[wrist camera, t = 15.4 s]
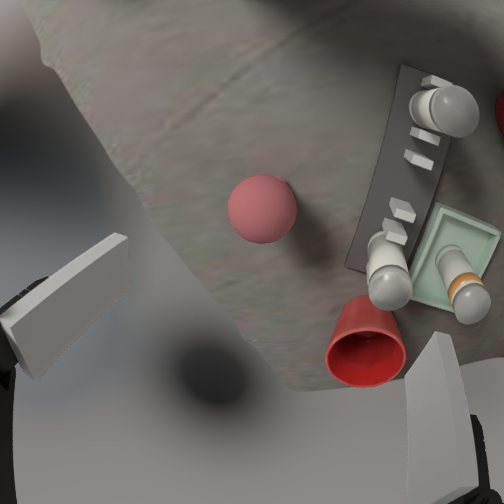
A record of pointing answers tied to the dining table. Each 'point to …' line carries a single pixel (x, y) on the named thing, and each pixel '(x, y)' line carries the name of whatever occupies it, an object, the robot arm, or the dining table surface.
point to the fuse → (387, 273)
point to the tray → (445, 233)
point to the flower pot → (365, 345)
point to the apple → (500, 111)
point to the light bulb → (262, 208)
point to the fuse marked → (462, 285)
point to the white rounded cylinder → (445, 110)
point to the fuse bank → (401, 174)
